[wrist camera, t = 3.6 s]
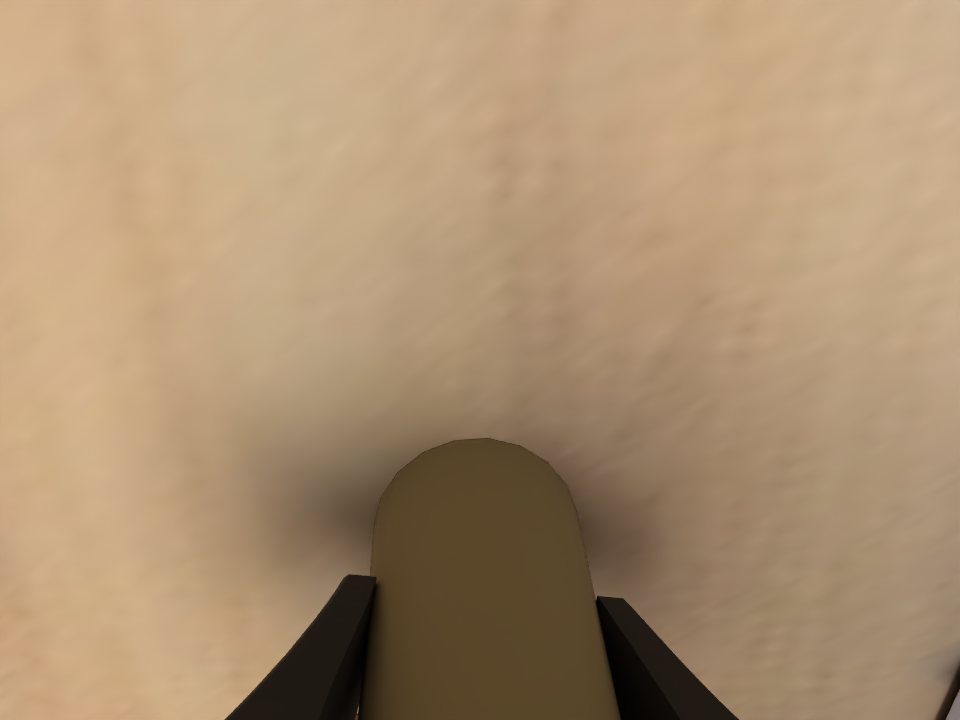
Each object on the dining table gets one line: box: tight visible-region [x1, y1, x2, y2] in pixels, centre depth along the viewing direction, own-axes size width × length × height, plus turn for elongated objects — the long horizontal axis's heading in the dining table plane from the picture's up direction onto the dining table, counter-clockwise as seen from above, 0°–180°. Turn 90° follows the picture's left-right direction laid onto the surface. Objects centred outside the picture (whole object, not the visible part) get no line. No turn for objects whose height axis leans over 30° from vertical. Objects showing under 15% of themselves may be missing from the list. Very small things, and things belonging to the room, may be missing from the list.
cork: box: [358, 438, 621, 720], centre depth 8 cm, size 6×6×11 cm
